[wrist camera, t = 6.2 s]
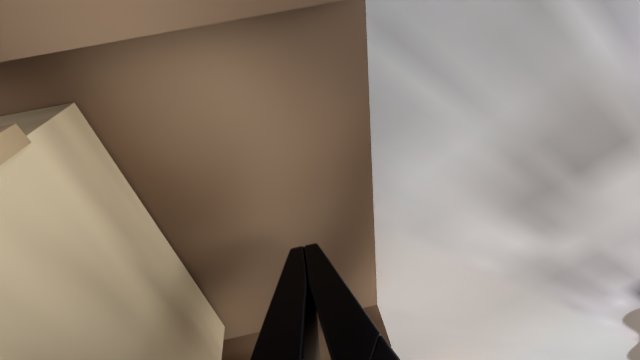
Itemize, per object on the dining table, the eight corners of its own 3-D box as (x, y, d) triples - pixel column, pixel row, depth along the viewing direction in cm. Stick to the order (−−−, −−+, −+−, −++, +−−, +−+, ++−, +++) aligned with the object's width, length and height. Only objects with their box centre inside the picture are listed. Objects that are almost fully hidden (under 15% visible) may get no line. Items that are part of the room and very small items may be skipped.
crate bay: (61, 370, 16) (9, 475, 12) (-452, 57, 6) (-1268, 157, 3) (371, 299, 16) (398, 380, 13) (350, -77, 7) (428, -121, 4)
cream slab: (51, 370, 13) (-39, 540, 9) (-304, 159, 7) (-1212, 461, 2) (229, 329, 14) (215, 477, 10) (70, 89, 7) (-199, 255, 3)
